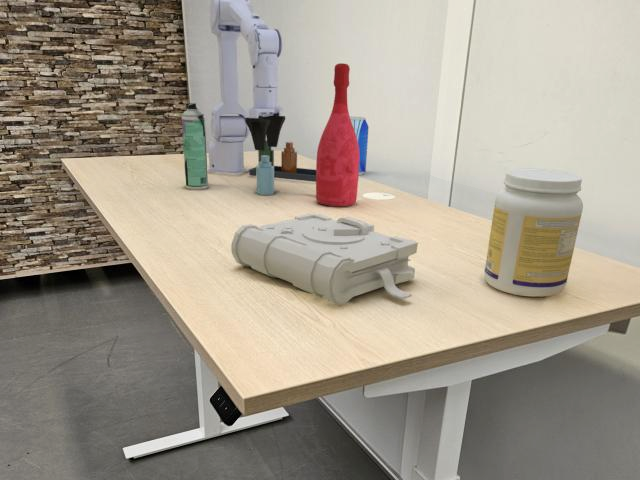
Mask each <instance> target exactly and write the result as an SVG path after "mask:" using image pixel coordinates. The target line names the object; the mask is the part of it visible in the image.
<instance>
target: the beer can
mask: <svg viewBox="0 0 640 480" xmlns="http://www.w3.org/2000/svg"><path fill="white" fill-rule="evenodd" d="M349 116H350V115H349ZM350 119H351V122H352V125H353V128H354V131H355V134H356V137H357V141H358V146H359V154H360V160H359V176H362V175H365V173H366V170H367V158H368V157H367V156H368V155H367V154H368V143H369V141H368V139H369V124H368V122H367V120H366V119H367V118H366V117H363V116H350Z"/></svg>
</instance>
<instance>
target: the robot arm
mask: <svg viewBox="0 0 640 480" xmlns="http://www.w3.org/2000/svg"><path fill="white" fill-rule="evenodd" d="M209 22H210V23H209V24H210V25H209V26H210V31H211V32H210V33H212V34H213V35H214V36H217V37H216V38H217V43H218V44H217V46H218V69H219V88H220V89H219V90H220V91H219V92H220V103H218V104H217V105H216V106H215V107H214V108H213V109H212V110H211V113H210V114H211V115H210V133H211V135H212V137H213V139H212V140H211V141H210V142H209V144H208V167H209V170H208V172H213V173H223V174H233V175H239V174H242V173H245V172H248V171H249V169H250V168H249V169H248V168H245V152H244V142H246V140H247V138H248V137H249V136H251V139H252V143H253V147H254V150H255V151H258V150H262V151H263V150H264V149H265V143H266V140H267V144H268V147H271V148H277V147H278V144H279V139H280V134H281V130H282V128H283V125H284V123H285V121H286V116H285V115H282V112H283V109H284V108H282V106H279V60H278V59H279V58H280V56H281V55H282V50H283V38H282V34H281V32H280V31H279V29H278V28H273V29H271V28H270V27H269V26H268V25H267V24H266V22H265V21H264V20H263V19H262V18H261V16H260V14H258V13H254V8H253V4H252V2H251V1H250V0H210V4H209ZM240 37H243V38H244V40H245V41H246V42H247V48H248V53H249V59H250V60H249V63H250V65H251V66H252V101H253V103H252V104H253V106H252V107H251V108H248V111H247V109H245V108H244V107H243V106H242V105H241V104H240V103H239V82H238V81H239V80H238V79H239V77H238V51H237V48H238V47H237V42H238V38H240Z"/></svg>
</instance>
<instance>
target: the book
mask: <svg viewBox="0 0 640 480" xmlns="http://www.w3.org/2000/svg"><path fill="white" fill-rule="evenodd" d="M418 245H419V242H417V241H416V240H415V241H414V240H412V239H408V238H404V237H399V236H391V235H386V234H382V233H380V232H375V224H372V223H368V222H366V221H364V220H361V219H357V218H354V217H350V216H344V217H340V218H338V219H337V220H335V219H333V218H332V217H329V216H327V215H324V214H321V213H316V212H311V213H306V214H302V215H299V216H295V217H294V218H292V219H287V220H283V221H277V222H273V223H268V224H264V225H259V226H258V225H256V224H255V225H254V224H251V223H249V224H243V225H241V226H240V227H239V228H238V229H237V230H236V231H235V233H234V235H233V238H232V241H231V246H230V247H231V254H232V257H233V258H234V261H235V262H236V263H237V264H240V265H241V266H244V267H245V268H249V267H251V269H253V270H255V271H256V272H259V273H261V274H264V275H267V276H268V277H270V278H274V279H277V278H279V279H281V280H283V281H286V282H287V283H291V284H292V286H293V287H295V288H297V289H299V290H303V291H305V292H307V293H310V294H312V295H314V296H316V297H319V298H323V297H324V298H326V299H327V301H328V302H330V303H333V304H334V305H337V306H338V307H339V306H342V305H345V304H347V303H349V301H350V300H352V299H353V298H354V297H357V296H359V295H363V294H366V293H368V292H372V291H375V290H377V289H380V288H384V290H385V291H386V292H387V293H388V295H391V296H392V297H394V298H397V299H400V300H405V299H408V298H411V297H412V296H413V294H412V293H409V292H406V291H403V290H401V289H400V288H398V287H397V285H398V284H402V283H404V282H408V281H411V280H413V279H415V274H416V273H415V272H416V268H415V267H413V266H411V265H409V262H410V261H411V259H409V257H410V256H413V255H414V254H417V252H418Z"/></svg>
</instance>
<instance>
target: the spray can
mask: <svg viewBox="0 0 640 480" xmlns="http://www.w3.org/2000/svg"><path fill="white" fill-rule="evenodd" d="M181 130H182V131H181V132H182V148H183V161H184V162H183V164H184V175H185V176H184V179H185V188H186V189H187V190H193V191H198V190H201V191H203V190H206V189H208V188H209V179H208V158H207V137H206V136H207V135H206V118H205V113H202V111H200V109H199V108H198V107H197V103H196V102H190V103H188V107H187V108H186V110H185V111H184V112H183V113H181Z"/></svg>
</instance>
